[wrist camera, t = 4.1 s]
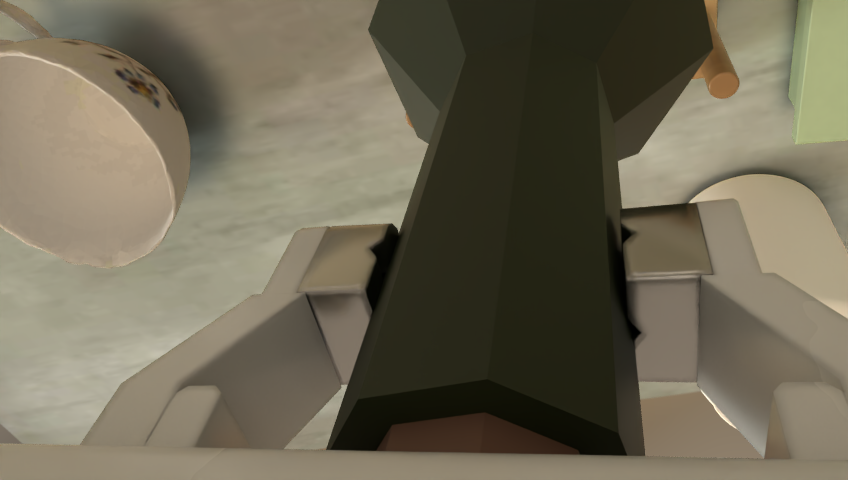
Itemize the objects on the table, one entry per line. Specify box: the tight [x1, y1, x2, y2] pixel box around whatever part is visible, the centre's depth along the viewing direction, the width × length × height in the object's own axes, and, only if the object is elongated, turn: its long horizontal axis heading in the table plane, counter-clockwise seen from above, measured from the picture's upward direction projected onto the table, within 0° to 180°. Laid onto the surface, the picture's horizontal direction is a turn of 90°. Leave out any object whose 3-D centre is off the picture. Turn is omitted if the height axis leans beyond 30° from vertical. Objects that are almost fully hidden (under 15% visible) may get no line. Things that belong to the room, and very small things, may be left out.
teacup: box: [0, 0, 191, 268], centre depth 38 cm, size 15×12×8 cm
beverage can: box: [689, 174, 848, 429], centre depth 35 cm, size 8×8×12 cm
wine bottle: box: [326, 0, 714, 456], centre depth 18 cm, size 8×8×30 cm
